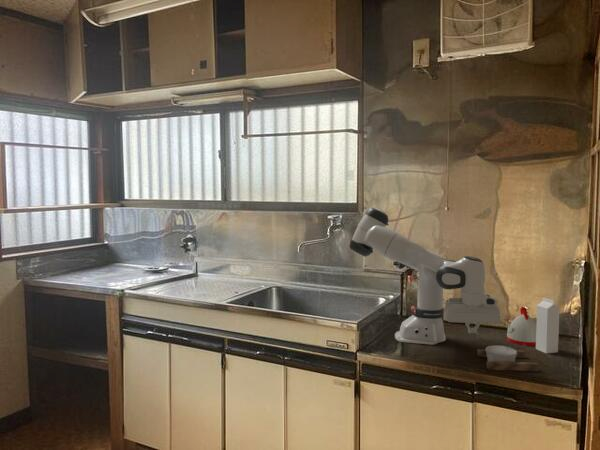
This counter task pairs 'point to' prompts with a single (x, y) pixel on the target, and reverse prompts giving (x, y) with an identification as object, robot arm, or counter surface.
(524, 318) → the kitchen timer
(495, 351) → the ramekin
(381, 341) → the counter surface
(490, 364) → the parallel wooden rails
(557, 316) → the milk
